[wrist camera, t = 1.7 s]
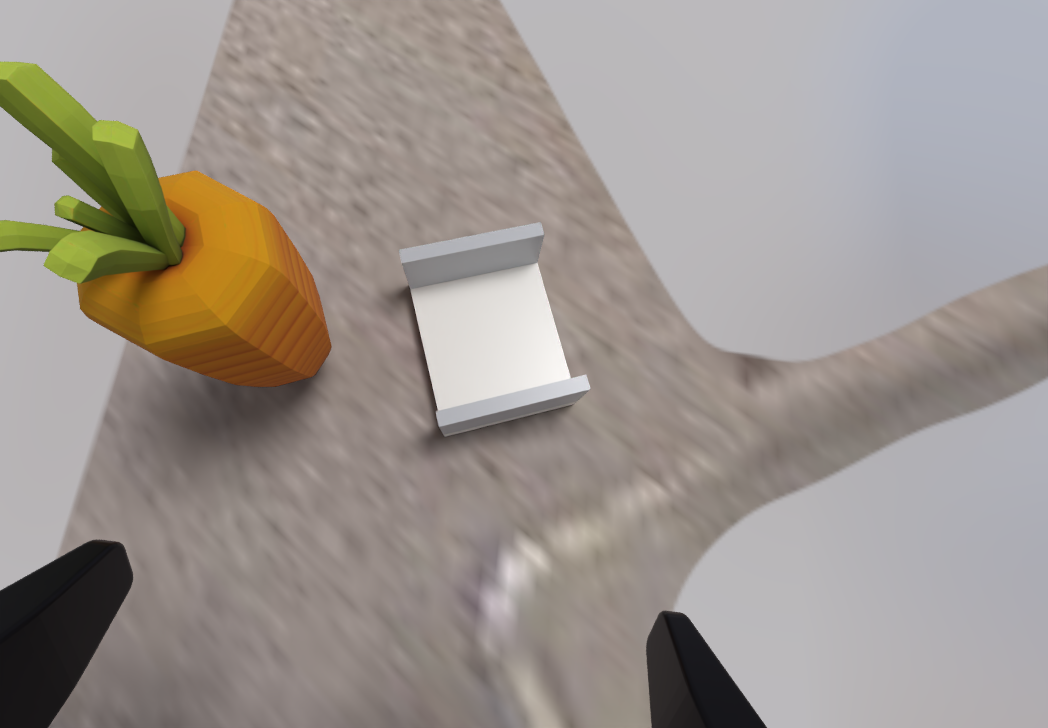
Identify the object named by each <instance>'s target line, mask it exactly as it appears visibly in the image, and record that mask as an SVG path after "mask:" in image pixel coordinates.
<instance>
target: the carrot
mask: <svg viewBox="0 0 1048 728" xmlns="http://www.w3.org/2000/svg"><path fill="white" fill-rule="evenodd" d="M0 107H2V108H3V109H4V110H5V111H6V112H8V113H9V114H10V115H11V116H12V117H13V118H15V119H16V120H17V121H18V122H19V123H21V124H22V125H23V126H24V127H25V128H27V129H28V130H29V131H30V132H32V133H33V134H34V135H35V136H37V137H38V138H39V139H40V140H42V141H43V142H44V143H45V144H47V145H48V146H49V147H51V148H52V162H53V163H54V164H55V165H56V166H57V167H58V168H60V169H61V170H62V171H63V172H64V173H65V174H66V175H67V176H68V177H69V178H71V179H72V180H73V181H74V182H75V183H76V184H77V185H78V186H79V187H80V188H81V189H83V190H84V191H85V192H86V193H87V194H88V195H89V196H90V197H92V199H94V200H95V201H96V202H97V203H98V204H100V205H101V206H102V207H101V208H100V209H97V208H95V207H92V206H90V205H88V204H86V203H84V202H82V201H80V200H78V199H75V198H73V197H71V196H62V197H61V198H60V199H59V200H58V201H57V202H56V203H55V204H54V205H55V215H56V216H59V217H61V218H64V219H66V220H68V221H71V222H73V223H76V224H78V225H80V226H83V228H82V230H81V231H77V230H71V229H65V228H59V227H53V226H47V225H41V224H32V223H24V222H16V221H8V220H2V221H0V252H5V251H14V250H20V251H42V252H49V254H48V257H47V259H46V261H45V263H44V266H45V267H46V268H48V269H50V270H51V271H52V272H54V273H55V274H57V275H58V276H60V277H63V278H66V279H68V280H71V281H73V282H77V287H78V295H79V303H80V309H81V310H82V311H83V313H84V314H85V315H86V316H87V317H88V318H89V319H91V320H93V321H94V322H96V323H98V324H99V325H101V326H103V327H105V328H107V329H109V330H110V331H113V332H114V333H116V334H118V335H120V336H121V337H123V338H125V339H127V340H129V341H130V342H132V343H134V344H136V345H138V346H140V347H141V348H143V349H145V350H147V351H149V352H151V353H152V354H154V355H156V356H158V357H160V358H162V359H163V360H166V361H168V362H171V363H174V364H176V365H179V366H182V367H184V368H187V369H190V370H192V371H195V372H197V373H200V374H203V375H206V376H209V377H212V378H215V379H218V380H222V381H225V382H228V383H231V384H234V385H242V386H254V387H276V386H280V385H283V384H287V383H291V382H295V381H298V380H302V379H306V378H310V377H312V376H314V375H315V374H316V373H317V371H318V370H319V368H320V367H321V365H322V364H323V362H324V361H325V359H326V358H327V356H328V355H329V352H330V350H331V342H330V338H329V334H328V330H327V325H326V321H325V317H324V313H323V309H322V305H321V301H320V297H319V294H318V291H317V288H316V285H315V282H314V279H313V276H312V274H311V273H310V271H309V269H308V268H307V266H306V264H305V263H304V261H303V259H302V258H301V256H300V254H299V252H298V251H297V249H296V248H295V246H294V245H293V243H292V242H291V240H290V239H289V237H288V236H287V234H286V233H285V231H284V230H283V228H282V227H281V225H280V224H279V222H278V221H277V219H276V218H275V216H274V215H273V214H272V213H271V212H270V211H269V210H268V209H267V208H265V207H264V206H262V205H260V204H258V203H257V202H255V201H253V200H251V199H249V198H247V197H245V196H244V195H242V194H240V193H238V192H236V191H234V190H232V189H230V188H228V187H227V186H225V185H223V184H221V183H219V182H217V181H215V180H213V179H212V178H210V177H208V176H206V175H204V174H202V173H200V172H198V171H191V172H186V173H181V174H176V175H171V176H166V177H161V178H158V177H157V174H156V171H155V168H154V166H153V163H152V160H151V157H150V155H149V153H148V151H147V149H146V146H145V144H144V142H143V140H142V137H141V135H140V133H139V131H138V130H137V129H135V128H133V127H130V126H128V125H126V124H123V123H121V122H119V121H104V120H99V121H98V122H97V121H96V120H95V119H94V118H93V117H92V116H91V115H90V114H89V113H88V112H87V111H86V110H85V108H83V106H82V105H81V104H80V103H78V102H77V101H76V100H75V99H74V98H73V97H72V96H71V95H69V93H67V92H66V91H65V90H64V89H63V88H62V87H61V86H60V85H59V84H58V83H57V82H55V81H54V80H53V79H52V78H51V77H50V76H49V75H48V74H46V73H45V72H44V71H43V70H42V69H41V68H40V67H39V66H38V65H37V64H30V63H22V62H0Z"/></svg>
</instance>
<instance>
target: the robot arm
mask: <svg viewBox="0 0 1048 728" xmlns="http://www.w3.org/2000/svg"><path fill="white" fill-rule="evenodd" d="M132 582H133V572H132V569H131V566H130V562H129V559H128V556H127V553H126V550H125V547H124V546H123V544H121V543H120V542H115V541H107V540H92V541H89V542H87V543H85V544H83V545H81V546H79V547H77V548H76V549H74V550H72V551H70V552H69V553H67V554H65V555H63V556H61V557H60V558H58V559H56V560H54V561H53V562H51V563H49V564H47V565H45V566H44V567H42V568H40V569H38V570H36V571H35V572H33V573H31V574H29V575H27V576H26V577H24V578H22V579H20V580H19V581H17V582H15V583H13V584H12V585H10V586H8V587H6V588H4V589H2V590H1V591H0V728H48V727H49V725H50V724H51V722H52V721H53V719H54V718H55V716H56V715H57V713H58V712H59V710H60V709H61V707H62V706H63V705H64V703H65V702H66V700H67V698H68V697H69V695H70V694H71V692H72V691H73V689H74V688H75V686H76V684H77V683H78V681H79V679H80V678H81V676H82V674H83V673H84V671H85V669H86V667H87V666H88V664H89V662H90V660H91V658H92V657H93V655H94V653H95V651H96V649H97V648H98V646H99V644H100V642H101V640H102V639H103V637H104V635H105V633H106V631H107V630H108V628H109V626H110V624H111V623H112V621H113V619H114V617H115V615H116V614H117V612H118V610H119V608H120V606H121V605H122V603H123V601H124V599H125V597H126V596H127V594H128V592H129V590H130V588H131V585H132ZM646 655H647V669H648V682H649V696H650V710H651V723H652V728H767V727H766V726H765V724H764V723H763V721H762V720H761V719H760V717H759V716H758V714H757V713H756V712H755V710H754V709H753V707H752V706H751V705H750V703H749V702H748V701H747V699H746V698H745V696H744V695H743V693H742V692H741V691H740V689H739V688H738V686H737V685H736V684H735V682H734V681H733V680H732V678H731V677H730V676H729V674H728V672H727V671H726V670H725V669H724V667H723V666H722V664H721V663H720V661H719V660H718V658H717V657H716V656H715V654H714V653H713V652H712V650H711V649H710V647H709V646H708V644H707V643H706V642H705V640H704V639H703V637H702V636H701V635H700V633H699V632H698V630H697V629H696V628H695V626H694V625H693V623H692V622H691V621H690V619H689V618H688V617H687V616H686V615H685V614H683V613H680V612H672V611H662V612H660V613H659V615H658V617H657V619H656V621H655V623H654V626H653V628H652V630H651V632H650V634H649V636H648V639H647V645H646Z"/></svg>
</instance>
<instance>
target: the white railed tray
mask: <svg viewBox="0 0 1048 728" xmlns="http://www.w3.org/2000/svg"><path fill="white" fill-rule="evenodd" d="M543 238H544V232H543V228H542V225H541V222H539V223H534V224H529V225H524V226H518V227H513V228H508V229H503V230H498V231H493V232H488V233H483V234H477V235H472V236H467V237H462V238H457V239H452V240H447V241H442V242H437V243H431V244H426V245H421V246H416V247H411V248H406V249H401V250H399V253H400V258H401V262H402V265H403V268H404V271H405V274H406V278H407V281H408V284H409V287H410V290H411V294H412V299H413V303H414V307H415V312H416V316H417V321H418V325H419V329H420V334H421V338H422V342H423V347H424V351H425V356H426V360H427V364H428V369H429V373H430V378H431V382H432V386H433V391H434V395H435V399H436V404H437V408H438V411H435V412H436V416H437V421H438V425H439V428H440V430H441V431H442V433H443V435H444V436H445V437H446V436H450V435H454V434H458V433H462V432H466V431H470V430H474V429H478V428H482V427H486V426H490V425H494V424H498V423H502V422H506V421H510V420H514V419H518V418H522V417H526V416H530V415H533V414H537V413H541V412H545V411H549V410H553V409H557V408H561V407H565V406H569V405H573V404H575V403H576V402H577V401H578V400H579V399H580V398H581V397H582V396H584V395H585V394H586V393H587V392H588V391H589V390H590V386H589V383H588V379H587V376H586V375H583V376H579V377H574V378H570V374H569V371H568V367H567V364H566V360H565V357H564V353H563V350H562V347H561V343H560V340H559V336H558V333H557V329H556V326H555V323H554V319H553V316H552V312H551V309H550V305H549V302H548V298H547V295H546V292H545V288H544V285H543V281H542V278H541V274H540V271H539V268H538V264H537V261H538V258H539V254H540V250H541V246H542V242H543Z"/></svg>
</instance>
